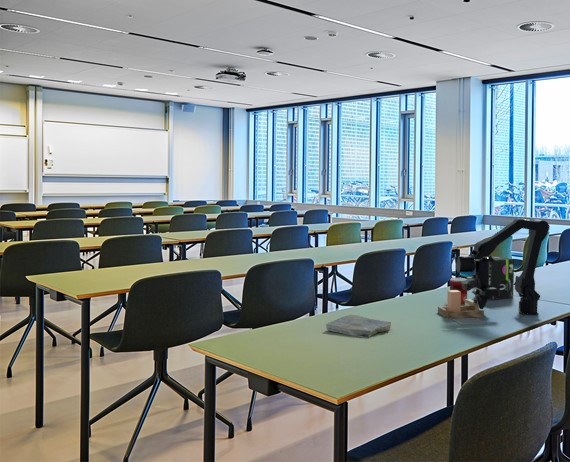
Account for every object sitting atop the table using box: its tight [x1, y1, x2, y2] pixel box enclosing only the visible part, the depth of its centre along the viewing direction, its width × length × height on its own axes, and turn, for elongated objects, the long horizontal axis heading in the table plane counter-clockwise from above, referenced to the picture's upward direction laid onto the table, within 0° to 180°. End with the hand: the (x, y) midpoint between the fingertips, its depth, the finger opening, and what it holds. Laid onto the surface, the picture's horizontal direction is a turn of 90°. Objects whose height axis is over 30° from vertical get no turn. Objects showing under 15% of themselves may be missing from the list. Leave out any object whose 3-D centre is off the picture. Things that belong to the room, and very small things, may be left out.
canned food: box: [449, 277, 468, 305], centre depth 273 cm, size 8×8×11 cm
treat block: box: [446, 289, 462, 311], centre depth 247 cm, size 4×4×10 cm
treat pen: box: [437, 305, 485, 319], centre depth 253 cm, size 17×22×3 cm
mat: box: [451, 317, 487, 326], centre depth 236 cm, size 10×10×1 cm
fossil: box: [325, 314, 392, 339], centre depth 226 cm, size 20×5×17 cm
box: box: [474, 256, 515, 301], centre depth 286 cm, size 14×12×19 cm
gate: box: [464, 298, 480, 311], centre depth 257 cm, size 2×9×4 cm, turn 8°
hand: (481, 309), depth 251 cm, fingers closed
